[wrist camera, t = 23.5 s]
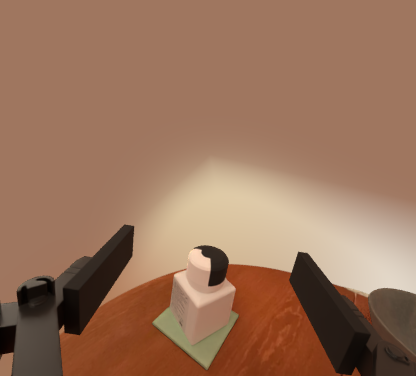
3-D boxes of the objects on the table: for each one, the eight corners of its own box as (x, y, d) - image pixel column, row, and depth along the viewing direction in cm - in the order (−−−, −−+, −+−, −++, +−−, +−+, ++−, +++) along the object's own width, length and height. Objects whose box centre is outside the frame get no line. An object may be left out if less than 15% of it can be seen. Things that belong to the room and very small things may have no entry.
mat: (152, 324, 33) (152, 321, 33) (191, 287, 43) (191, 285, 42) (207, 370, 28) (207, 368, 28) (238, 317, 37) (238, 314, 37)
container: (203, 293, 41) (213, 237, 37) (228, 324, 35) (243, 260, 32) (169, 309, 36) (176, 246, 33) (191, 347, 30) (203, 275, 27)
